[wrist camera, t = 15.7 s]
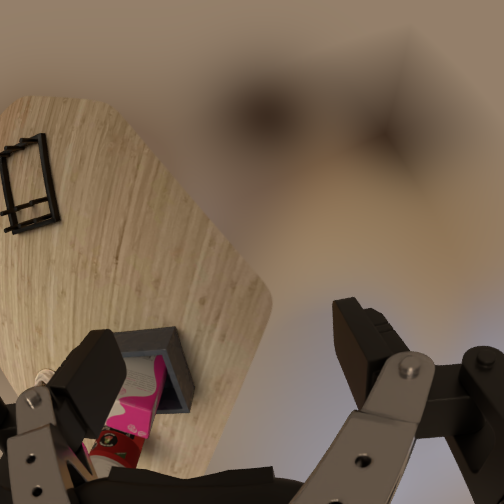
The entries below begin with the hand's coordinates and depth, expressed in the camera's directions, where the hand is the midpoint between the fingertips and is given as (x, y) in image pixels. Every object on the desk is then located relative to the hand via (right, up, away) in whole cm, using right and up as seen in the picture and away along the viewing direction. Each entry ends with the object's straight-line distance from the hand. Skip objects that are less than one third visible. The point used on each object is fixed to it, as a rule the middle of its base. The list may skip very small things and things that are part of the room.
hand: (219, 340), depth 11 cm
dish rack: (-29, +12, +24) cm, 40 cm away
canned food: (-21, -27, +35) cm, 49 cm away
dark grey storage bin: (-13, -12, +31) cm, 36 cm away
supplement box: (-13, -13, +31) cm, 36 cm away
